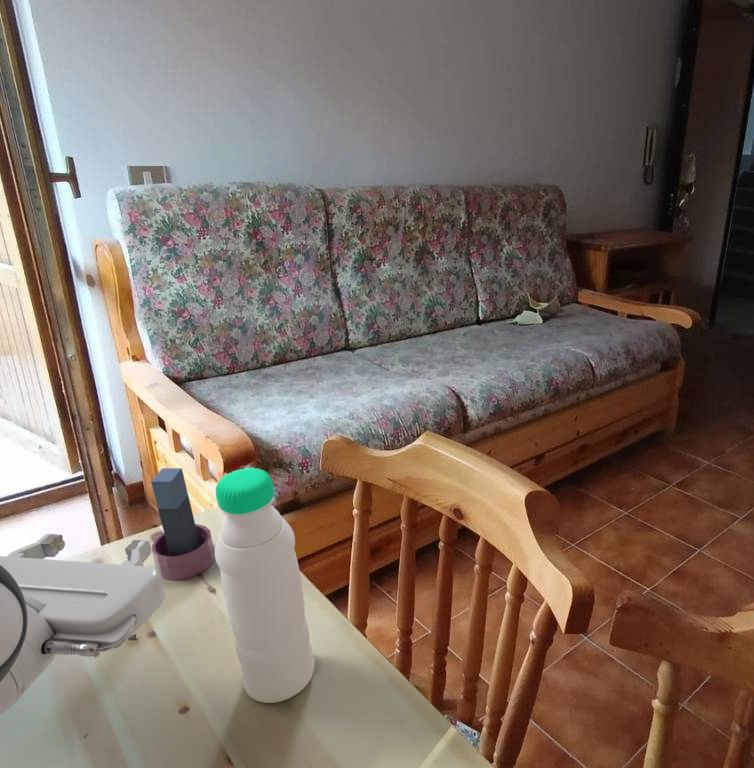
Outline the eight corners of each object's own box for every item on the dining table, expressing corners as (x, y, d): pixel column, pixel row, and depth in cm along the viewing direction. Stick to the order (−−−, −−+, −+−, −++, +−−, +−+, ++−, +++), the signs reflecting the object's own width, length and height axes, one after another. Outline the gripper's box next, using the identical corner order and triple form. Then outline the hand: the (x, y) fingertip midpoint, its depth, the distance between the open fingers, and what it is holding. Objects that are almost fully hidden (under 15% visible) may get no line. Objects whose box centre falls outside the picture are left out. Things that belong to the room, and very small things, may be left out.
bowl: (149, 581, 79) (142, 559, 77) (169, 546, 85) (164, 525, 83) (205, 578, 80) (200, 556, 78) (222, 543, 86) (217, 522, 84)
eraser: (173, 566, 81) (150, 481, 75) (183, 551, 83) (162, 468, 78) (192, 566, 81) (170, 481, 75) (201, 551, 83) (182, 467, 78)
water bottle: (275, 719, 62) (233, 511, 52) (230, 685, 65) (182, 484, 55) (329, 669, 68) (301, 472, 57) (284, 640, 71) (250, 450, 60)
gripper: (101, 629, 52) (190, 524, 64) (-134, 611, 53) (-1, 511, 65) (119, 683, 54) (202, 572, 67) (-105, 664, 55) (18, 559, 68)
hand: (100, 541), depth 66 cm, fingers open, 8 cm apart
